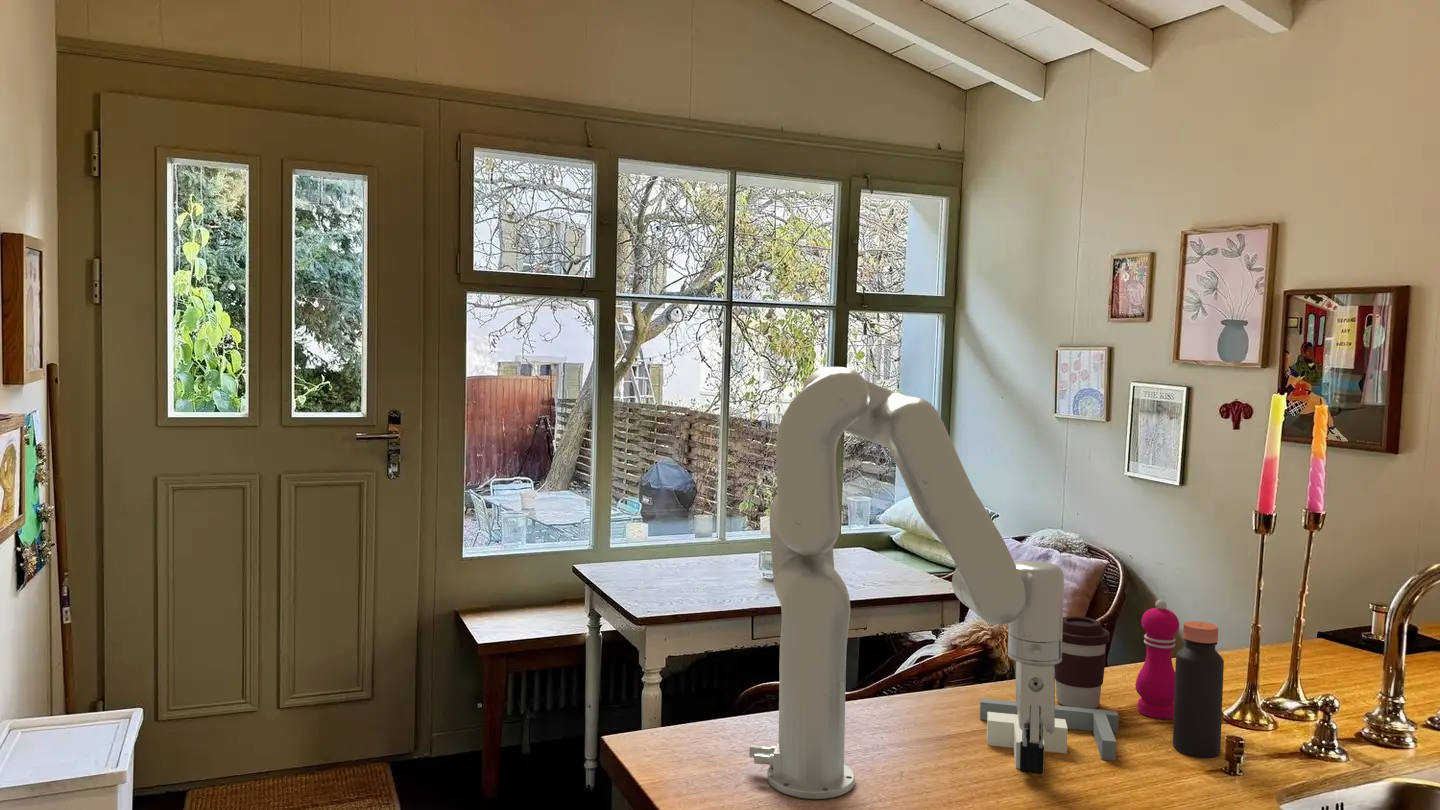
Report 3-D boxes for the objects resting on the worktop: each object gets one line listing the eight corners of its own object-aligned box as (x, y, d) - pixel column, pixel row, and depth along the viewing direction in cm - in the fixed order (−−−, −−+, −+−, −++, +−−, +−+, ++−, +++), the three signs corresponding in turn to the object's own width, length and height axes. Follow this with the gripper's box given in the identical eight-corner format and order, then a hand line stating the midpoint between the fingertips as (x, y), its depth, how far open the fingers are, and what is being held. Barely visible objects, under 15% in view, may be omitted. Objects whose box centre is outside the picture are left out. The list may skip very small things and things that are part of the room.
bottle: (1182, 738, 159) (1186, 617, 158) (1226, 750, 155) (1231, 625, 154) (1165, 749, 155) (1170, 624, 154) (1211, 762, 150) (1216, 634, 149)
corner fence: (980, 746, 155) (981, 727, 155) (979, 715, 169) (980, 698, 168) (1129, 762, 150) (1130, 743, 150) (1116, 728, 163) (1116, 711, 163)
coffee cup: (1112, 701, 177) (1115, 619, 176) (1101, 717, 168) (1103, 631, 168) (1056, 690, 182) (1058, 610, 181) (1042, 706, 174) (1044, 622, 173)
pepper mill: (1184, 722, 167) (1188, 606, 166) (1139, 718, 168) (1143, 603, 167) (1174, 707, 174) (1177, 596, 173) (1130, 704, 175) (1134, 593, 174)
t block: (988, 765, 148) (988, 739, 148) (986, 735, 160) (987, 711, 159) (1071, 774, 145) (1072, 748, 145) (1064, 743, 157) (1065, 719, 157)
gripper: (1066, 665, 134) (1062, 796, 135) (1057, 635, 149) (1054, 754, 150) (1009, 660, 136) (1006, 789, 137) (1006, 631, 151) (1003, 748, 152)
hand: (1031, 770), depth 143 cm, fingers closed
